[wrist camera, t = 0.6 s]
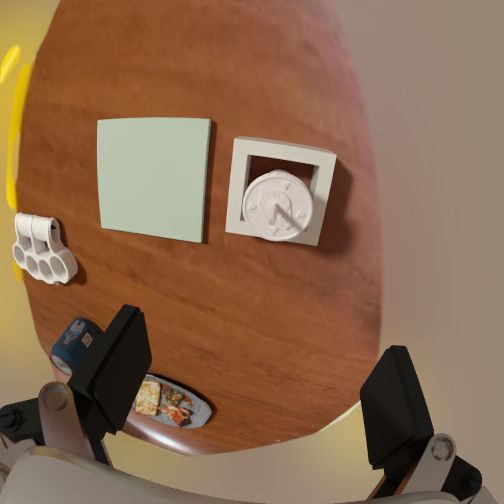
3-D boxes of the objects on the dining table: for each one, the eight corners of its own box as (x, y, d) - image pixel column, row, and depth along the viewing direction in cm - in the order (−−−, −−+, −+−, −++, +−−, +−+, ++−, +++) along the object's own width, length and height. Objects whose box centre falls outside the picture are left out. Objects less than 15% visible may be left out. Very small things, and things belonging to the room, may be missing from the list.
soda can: (87, 339, 52) (62, 376, 42) (70, 316, 49) (42, 352, 39) (106, 338, 50) (80, 378, 40) (88, 313, 48) (58, 352, 37)
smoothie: (286, 148, 30) (289, 168, 18) (315, 192, 32) (335, 241, 20) (242, 176, 33) (215, 216, 20) (271, 218, 35) (264, 279, 22)
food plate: (197, 430, 66) (194, 440, 63) (122, 400, 64) (118, 409, 61) (222, 393, 55) (219, 405, 52) (125, 352, 53) (118, 363, 50)
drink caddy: (240, 135, 30) (234, 138, 26) (329, 149, 30) (336, 154, 26) (232, 217, 35) (225, 231, 31) (313, 230, 35) (316, 245, 31)
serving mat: (101, 119, 30) (97, 120, 29) (211, 119, 30) (209, 119, 29) (105, 225, 38) (101, 227, 37) (202, 239, 37) (200, 242, 36)
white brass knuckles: (71, 217, 38) (84, 288, 45) (15, 208, 39) (29, 270, 46) (58, 225, 35) (75, 298, 42) (4, 215, 36) (20, 277, 43)
